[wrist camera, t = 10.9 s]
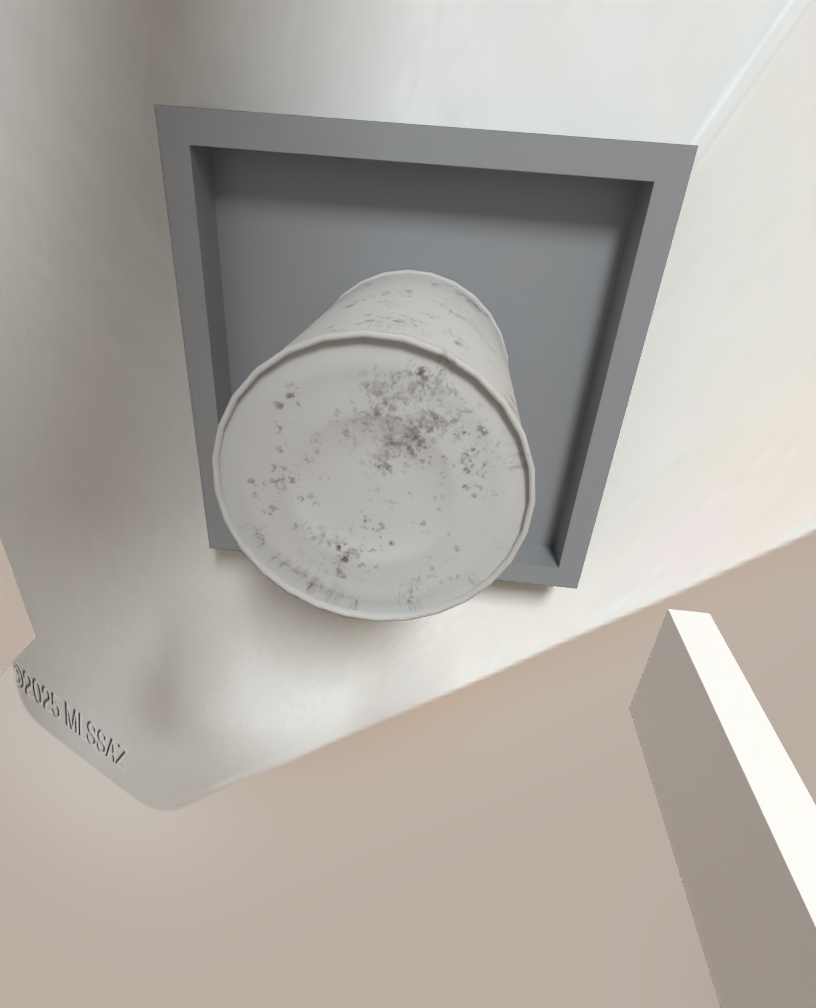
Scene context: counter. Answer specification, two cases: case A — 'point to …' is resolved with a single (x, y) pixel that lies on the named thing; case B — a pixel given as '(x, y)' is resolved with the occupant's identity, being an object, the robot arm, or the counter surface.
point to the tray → (429, 270)
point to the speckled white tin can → (380, 454)
